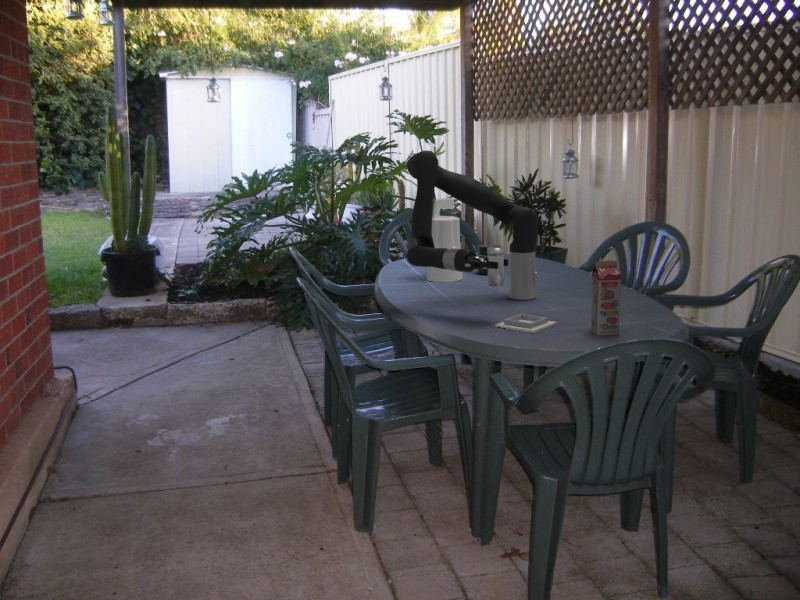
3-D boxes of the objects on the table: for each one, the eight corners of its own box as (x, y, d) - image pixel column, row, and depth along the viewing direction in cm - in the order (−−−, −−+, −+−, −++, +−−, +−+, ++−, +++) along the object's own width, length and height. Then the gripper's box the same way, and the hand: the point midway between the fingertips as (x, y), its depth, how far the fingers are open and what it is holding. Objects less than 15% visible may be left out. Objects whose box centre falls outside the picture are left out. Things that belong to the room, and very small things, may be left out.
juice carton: (590, 330, 255) (592, 259, 250) (611, 329, 255) (614, 258, 251) (597, 335, 249) (599, 263, 244) (618, 334, 249) (621, 262, 244)
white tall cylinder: (442, 274, 356) (442, 195, 349) (470, 277, 346) (470, 197, 339) (419, 279, 345) (417, 198, 338) (447, 283, 335) (446, 200, 328)
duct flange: (518, 318, 272) (518, 311, 272) (556, 324, 263) (556, 317, 263) (495, 327, 262) (495, 320, 261) (533, 333, 253) (533, 326, 252)
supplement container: (507, 273, 353) (507, 246, 350) (486, 276, 348) (486, 248, 345) (492, 270, 362) (492, 243, 359) (472, 273, 356) (472, 245, 354)
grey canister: (500, 282, 271) (499, 246, 268) (507, 285, 266) (507, 248, 263) (484, 284, 269) (484, 247, 267) (491, 287, 264) (491, 250, 262)
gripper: (446, 252, 269) (490, 255, 258) (471, 245, 280) (514, 249, 269) (447, 274, 270) (490, 279, 260) (472, 267, 281) (515, 272, 270)
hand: (502, 264), depth 264 cm, fingers closed on grey canister, 5 cm apart
